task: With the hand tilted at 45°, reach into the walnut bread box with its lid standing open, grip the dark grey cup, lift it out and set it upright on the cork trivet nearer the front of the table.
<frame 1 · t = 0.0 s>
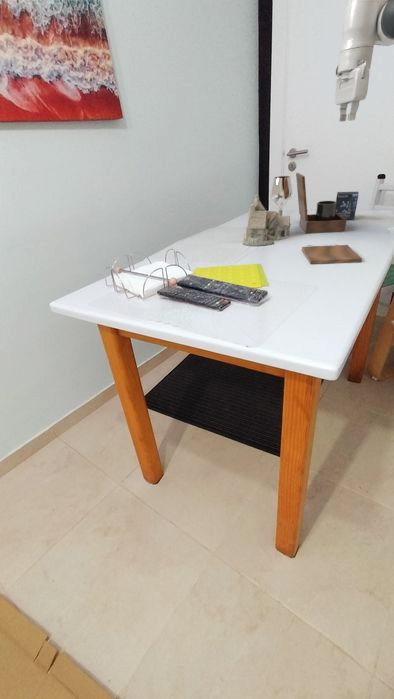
hand: (346, 121, 105), 34 cm above the table, tool pointing down, fingers open, 8 cm apart
bread box lid: (301, 196, 120), point 12 cm above the table, hinge at 100.0°
wineglass: (279, 227, 136), on the table
trivet: (329, 255, 101), on the table
bread box: (320, 230, 126), on the table
box: (343, 221, 137), on the table
dark grey cup: (323, 228, 125), point 1 cm above the table, touching bread box
ceramic cottage: (266, 240, 121), on the table
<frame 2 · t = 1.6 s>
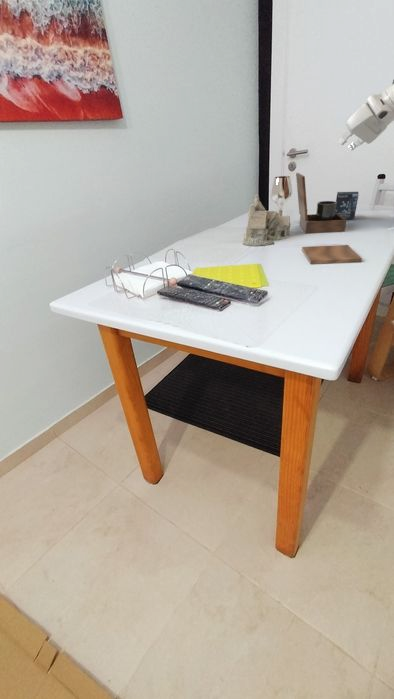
hand: (345, 146, 117), 27 cm above the table, tool tilted 50°, fingers open, 8 cm apart
nothing on the table moved.
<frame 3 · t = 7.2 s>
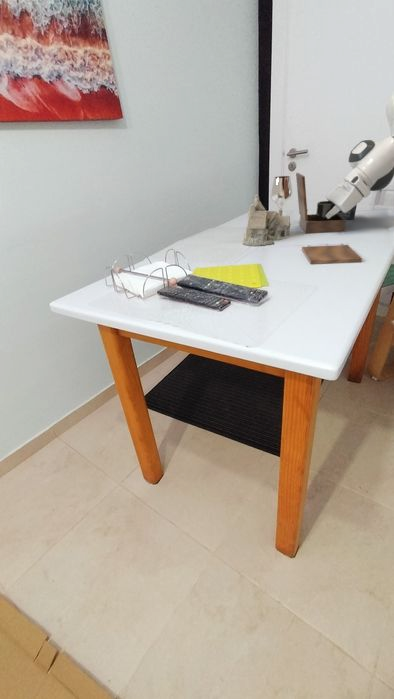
hand: (323, 215, 123), 6 cm above the table, tool tilted 45°, fingers closed on dark grey cup, 6 cm apart
dark grey cup: (323, 228, 125), point 1 cm above the table, touching bread box, gripper
everything else where it was.
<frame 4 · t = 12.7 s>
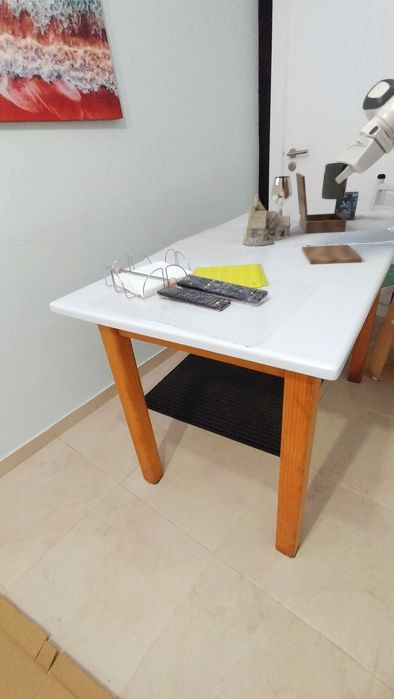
hand: (333, 180, 99), 19 cm above the table, tool tilted 45°, fingers closed on dark grey cup, 6 cm apart
dark grey cup: (332, 197, 102), point 15 cm above the table, touching gripper
everything else where it was.
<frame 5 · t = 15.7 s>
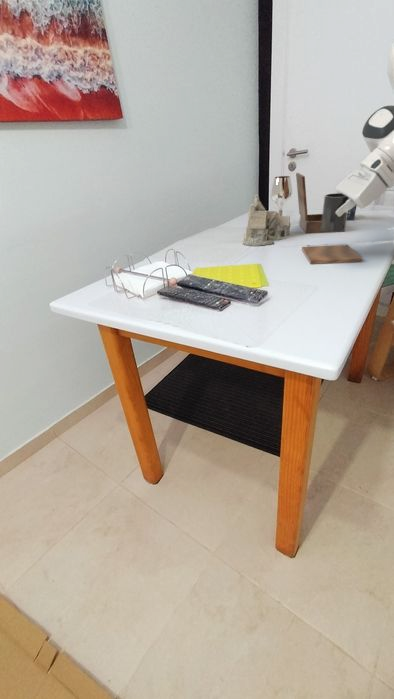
hand: (332, 211, 95), 12 cm above the table, tool tilted 45°, fingers closed on dark grey cup, 6 cm apart
dark grey cup: (332, 228, 97), point 8 cm above the table, touching gripper
everything else where it was.
when the fingers open (6 cm above the table, at t = 18.2 s): dark grey cup stays where it is, resting on trivet.
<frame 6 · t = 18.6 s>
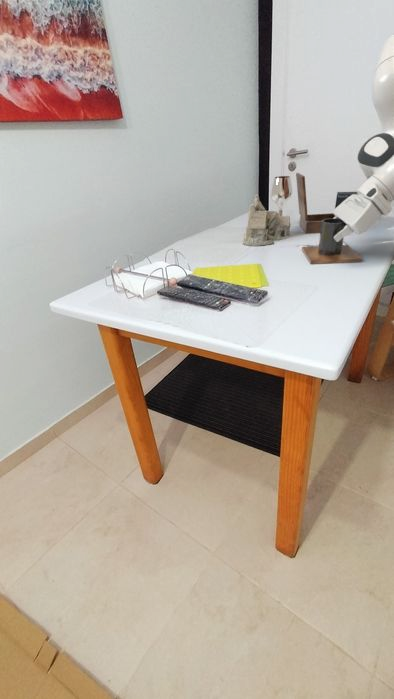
hand: (330, 235, 98), 6 cm above the table, tool tilted 45°, fingers open, 8 cm apart
dark grey cup: (329, 252, 101), point 1 cm above the table, touching trivet
everything else where it was.
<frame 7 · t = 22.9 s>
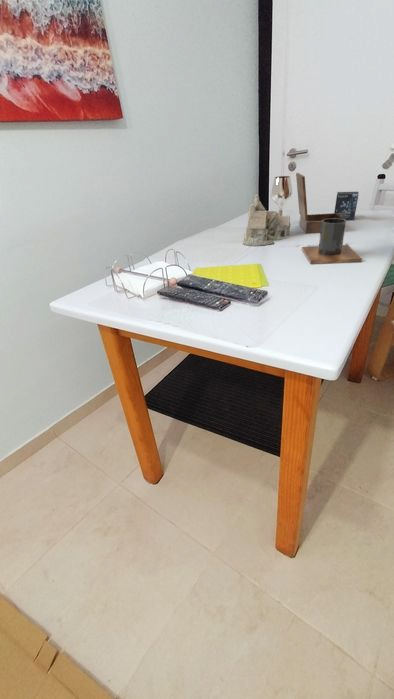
hand: (390, 169, 89), 22 cm above the table, tool tilted 45°, fingers open, 8 cm apart
nothing on the table moved.
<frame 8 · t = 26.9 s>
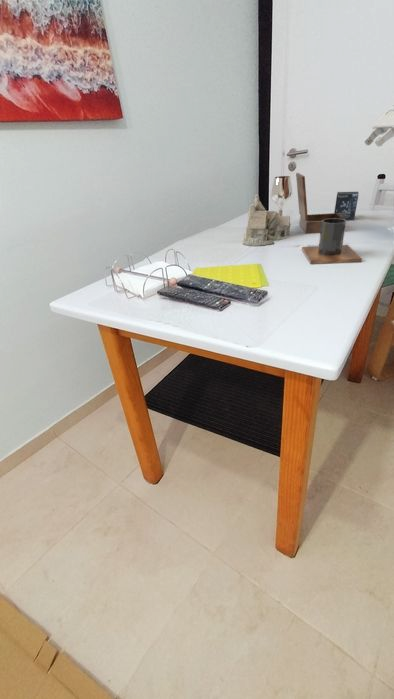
hand: (371, 144, 102), 27 cm above the table, tool tilted 45°, fingers open, 8 cm apart
nothing on the table moved.
at the end: dark grey cup inside the target area on the trivet (0.2 cm from its centre), point 1.0 cm above the trivet's base; dark grey cup tilted 0°; the gripper is holding nothing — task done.
